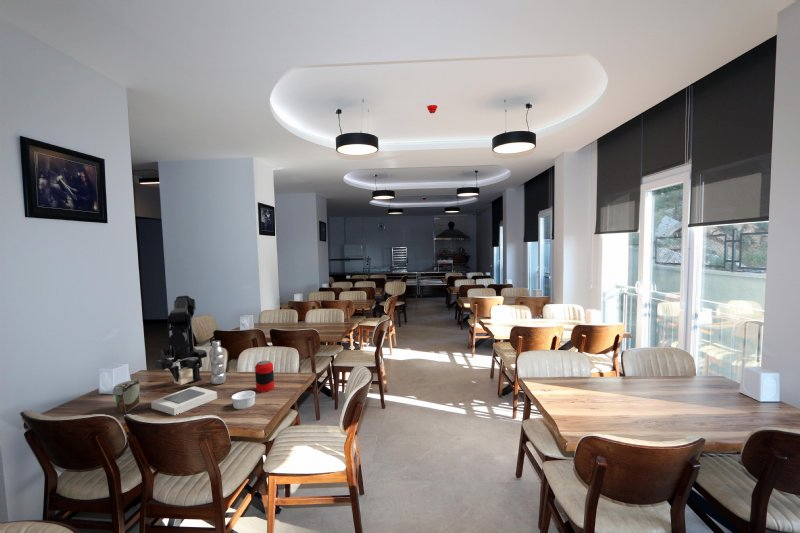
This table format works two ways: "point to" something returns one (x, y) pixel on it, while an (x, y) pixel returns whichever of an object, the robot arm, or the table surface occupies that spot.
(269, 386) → the soda can
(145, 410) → the table surface
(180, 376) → the birch block
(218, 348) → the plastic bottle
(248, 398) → the ramekin
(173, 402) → the base
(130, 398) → the food container
